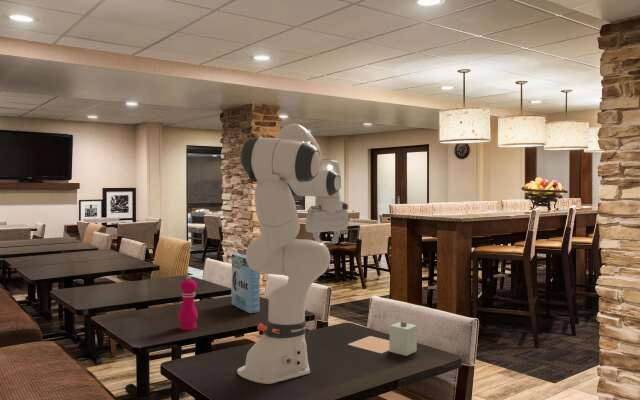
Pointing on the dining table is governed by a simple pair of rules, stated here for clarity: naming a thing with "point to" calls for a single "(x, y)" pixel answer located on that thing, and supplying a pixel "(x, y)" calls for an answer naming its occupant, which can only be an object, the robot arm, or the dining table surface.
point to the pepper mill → (188, 305)
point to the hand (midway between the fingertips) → (326, 243)
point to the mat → (372, 344)
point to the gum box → (245, 285)
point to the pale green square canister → (403, 338)
